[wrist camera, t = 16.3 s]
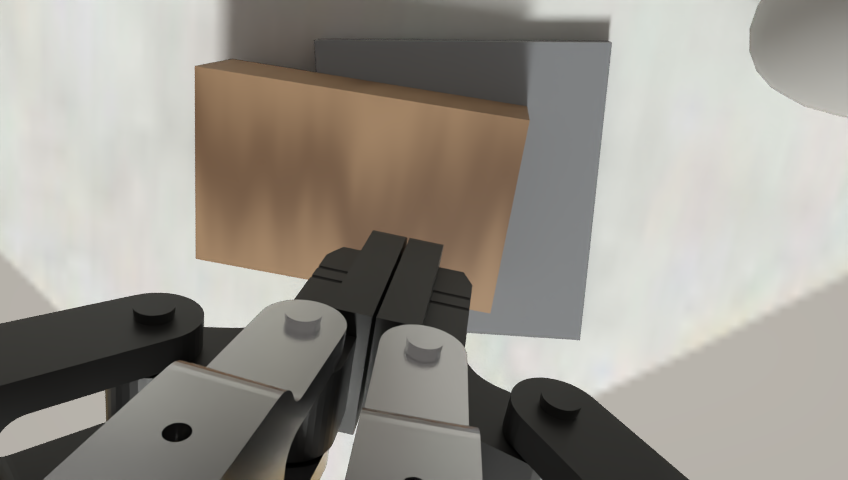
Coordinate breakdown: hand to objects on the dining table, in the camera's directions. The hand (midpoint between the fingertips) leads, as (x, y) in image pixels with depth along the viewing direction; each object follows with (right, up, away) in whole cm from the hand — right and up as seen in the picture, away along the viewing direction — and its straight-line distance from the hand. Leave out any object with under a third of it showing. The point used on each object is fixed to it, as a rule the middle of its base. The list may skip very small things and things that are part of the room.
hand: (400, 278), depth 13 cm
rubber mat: (+2, +2, +8) cm, 8 cm away
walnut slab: (+3, +2, +6) cm, 7 cm away
